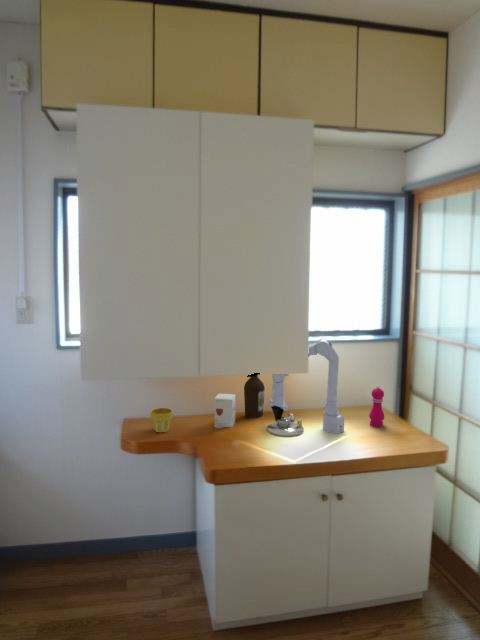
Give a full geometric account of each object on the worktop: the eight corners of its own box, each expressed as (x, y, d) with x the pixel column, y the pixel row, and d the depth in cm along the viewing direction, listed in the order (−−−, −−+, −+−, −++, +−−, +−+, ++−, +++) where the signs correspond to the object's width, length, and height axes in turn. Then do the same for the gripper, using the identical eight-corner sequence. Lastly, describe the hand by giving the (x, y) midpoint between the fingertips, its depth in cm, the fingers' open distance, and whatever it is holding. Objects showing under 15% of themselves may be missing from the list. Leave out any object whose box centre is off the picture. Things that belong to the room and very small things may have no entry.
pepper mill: (382, 422, 233) (384, 383, 231) (385, 427, 226) (387, 387, 224) (367, 422, 234) (369, 383, 231) (370, 427, 227) (371, 387, 224)
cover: (292, 427, 219) (292, 419, 218) (279, 428, 217) (279, 420, 217) (287, 423, 225) (288, 415, 224) (275, 424, 223) (275, 416, 223)
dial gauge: (295, 423, 231) (295, 413, 231) (287, 426, 227) (288, 416, 226) (289, 421, 234) (290, 411, 233) (282, 424, 229) (282, 414, 229)
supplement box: (213, 428, 224) (213, 398, 222) (217, 422, 232) (218, 393, 231) (232, 429, 222) (232, 399, 220) (235, 423, 231) (235, 394, 229)
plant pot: (177, 429, 222) (177, 409, 221) (164, 436, 213) (164, 415, 212) (159, 425, 227) (158, 406, 225) (146, 432, 217) (146, 412, 216)
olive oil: (240, 418, 238) (240, 370, 235) (248, 412, 248) (248, 366, 245) (259, 421, 234) (260, 372, 231) (267, 415, 244) (267, 368, 241)
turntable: (309, 435, 212) (309, 425, 212) (273, 438, 209) (273, 428, 208) (296, 422, 229) (296, 414, 228) (263, 425, 225) (263, 416, 225)
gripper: (263, 390, 228) (263, 417, 230) (278, 398, 215) (278, 426, 217) (276, 389, 231) (275, 415, 233) (291, 396, 218) (291, 424, 220)
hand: (278, 421), depth 225 cm, fingers closed
